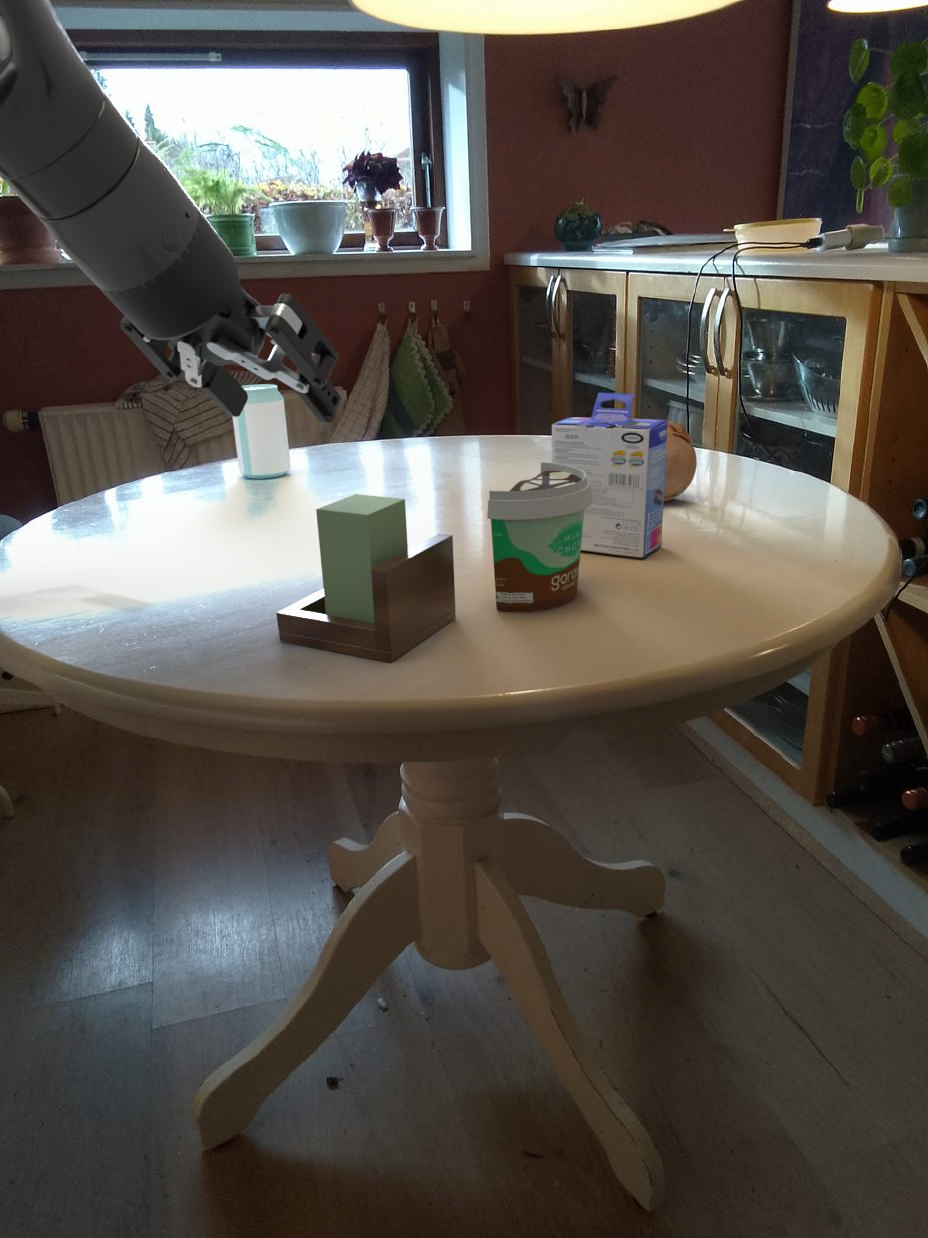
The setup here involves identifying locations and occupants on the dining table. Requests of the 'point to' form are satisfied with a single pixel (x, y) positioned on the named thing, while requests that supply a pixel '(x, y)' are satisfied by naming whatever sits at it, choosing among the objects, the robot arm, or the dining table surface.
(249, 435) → the can
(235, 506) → the dining table surface
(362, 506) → the green rectangular block
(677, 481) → the onion
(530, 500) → the food container
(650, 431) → the ink cartridge box
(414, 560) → the seat frame
